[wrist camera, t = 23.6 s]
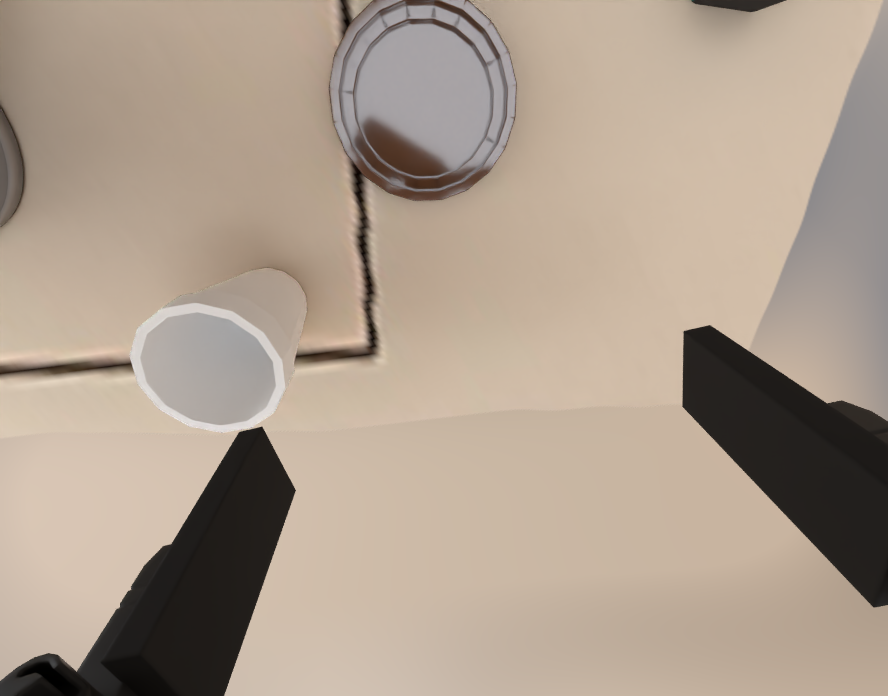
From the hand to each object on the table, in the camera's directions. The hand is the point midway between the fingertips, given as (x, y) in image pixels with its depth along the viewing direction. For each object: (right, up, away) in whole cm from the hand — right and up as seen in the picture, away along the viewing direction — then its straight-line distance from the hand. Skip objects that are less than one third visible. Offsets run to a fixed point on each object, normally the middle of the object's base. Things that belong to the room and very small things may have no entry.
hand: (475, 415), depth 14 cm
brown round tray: (-3, +21, +19) cm, 28 cm away
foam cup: (-17, +6, +26) cm, 32 cm away
